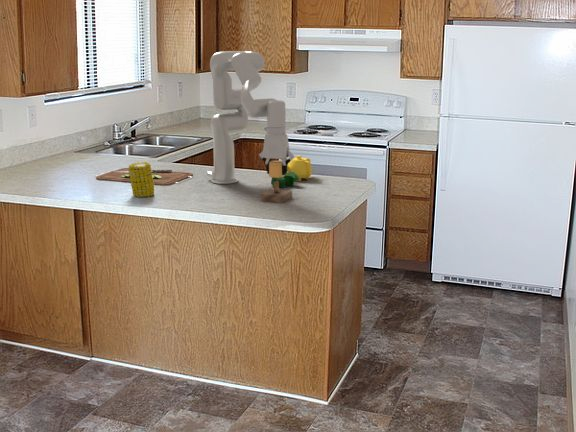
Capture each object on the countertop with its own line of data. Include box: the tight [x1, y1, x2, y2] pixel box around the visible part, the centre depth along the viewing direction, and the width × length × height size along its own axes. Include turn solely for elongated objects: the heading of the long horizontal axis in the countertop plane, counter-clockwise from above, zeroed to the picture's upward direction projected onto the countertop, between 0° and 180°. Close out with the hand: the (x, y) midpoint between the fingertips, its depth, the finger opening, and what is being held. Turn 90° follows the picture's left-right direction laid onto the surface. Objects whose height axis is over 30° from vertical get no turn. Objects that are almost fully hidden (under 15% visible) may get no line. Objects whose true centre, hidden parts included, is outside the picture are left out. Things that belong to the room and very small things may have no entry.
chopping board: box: [94, 167, 195, 187], centre depth 361 cm, size 45×27×3 cm, turn 69°
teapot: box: [287, 155, 313, 182], centre depth 357 cm, size 14×14×11 cm
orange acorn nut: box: [268, 160, 285, 178], centre depth 314 cm, size 6×6×6 cm
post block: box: [260, 181, 293, 204], centre depth 317 cm, size 10×10×8 cm
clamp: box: [270, 172, 299, 189], centre depth 341 cm, size 12×6×9 cm, turn 116°
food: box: [128, 161, 155, 198], centre depth 323 cm, size 15×12×10 cm
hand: (276, 173), depth 315 cm, fingers closed on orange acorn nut, 6 cm apart
